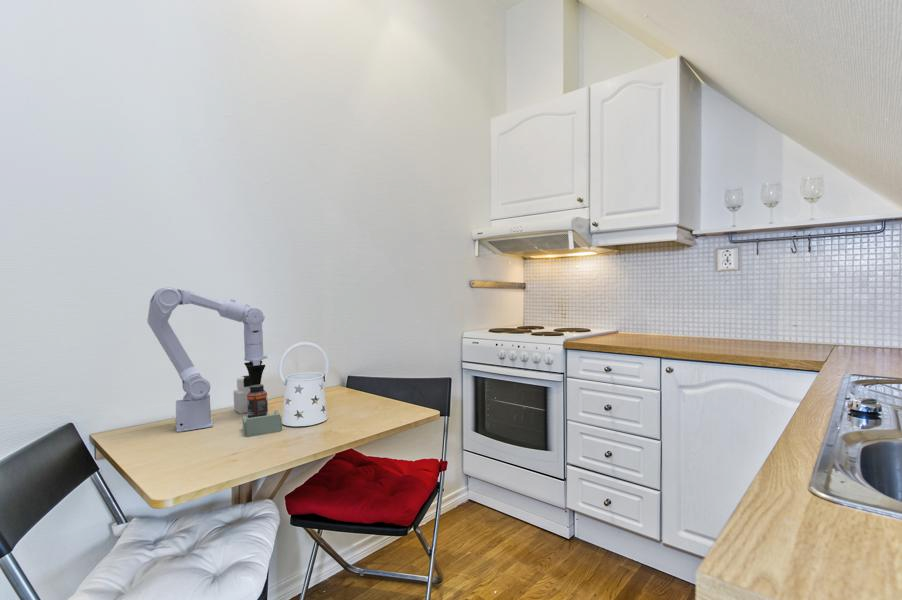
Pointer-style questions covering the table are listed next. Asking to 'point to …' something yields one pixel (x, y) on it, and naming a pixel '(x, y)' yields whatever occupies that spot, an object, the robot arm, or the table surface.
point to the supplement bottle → (257, 401)
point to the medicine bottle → (242, 394)
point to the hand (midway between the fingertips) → (255, 384)
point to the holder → (262, 424)
